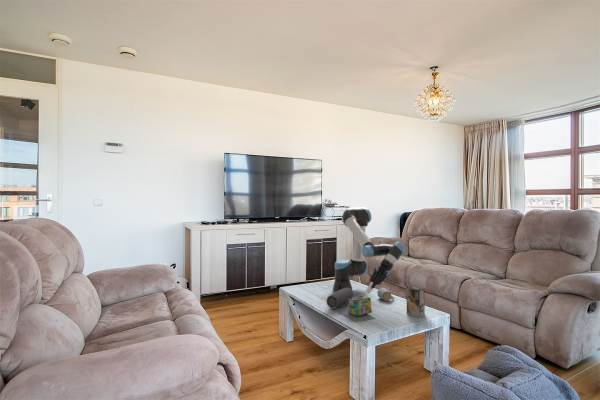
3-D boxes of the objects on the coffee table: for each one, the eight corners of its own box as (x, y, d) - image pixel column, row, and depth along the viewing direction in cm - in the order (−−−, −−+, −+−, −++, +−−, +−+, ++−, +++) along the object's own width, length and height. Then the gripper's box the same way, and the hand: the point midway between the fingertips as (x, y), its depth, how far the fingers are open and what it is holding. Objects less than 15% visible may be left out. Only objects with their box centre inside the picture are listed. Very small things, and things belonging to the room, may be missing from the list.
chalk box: (362, 310, 203) (343, 314, 195) (360, 295, 204) (342, 299, 196) (372, 312, 195) (353, 317, 187) (370, 297, 196) (351, 301, 188)
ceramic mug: (382, 302, 220) (382, 290, 220) (377, 298, 228) (377, 287, 228) (396, 301, 222) (396, 290, 222) (390, 297, 230) (390, 286, 230)
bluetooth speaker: (342, 299, 225) (342, 285, 225) (354, 302, 220) (354, 287, 220) (325, 309, 207) (325, 293, 207) (338, 311, 201) (338, 295, 201)
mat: (337, 311, 202) (337, 310, 202) (355, 308, 208) (355, 307, 208) (355, 322, 183) (355, 321, 183) (375, 318, 189) (375, 317, 189)
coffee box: (425, 315, 193) (425, 288, 194) (420, 318, 189) (419, 291, 189) (411, 311, 200) (411, 286, 200) (406, 314, 196) (405, 287, 196)
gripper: (398, 268, 202) (377, 298, 195) (385, 264, 213) (364, 292, 206) (392, 260, 199) (370, 290, 192) (378, 257, 211) (357, 285, 204)
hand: (367, 291), depth 199 cm, fingers closed
